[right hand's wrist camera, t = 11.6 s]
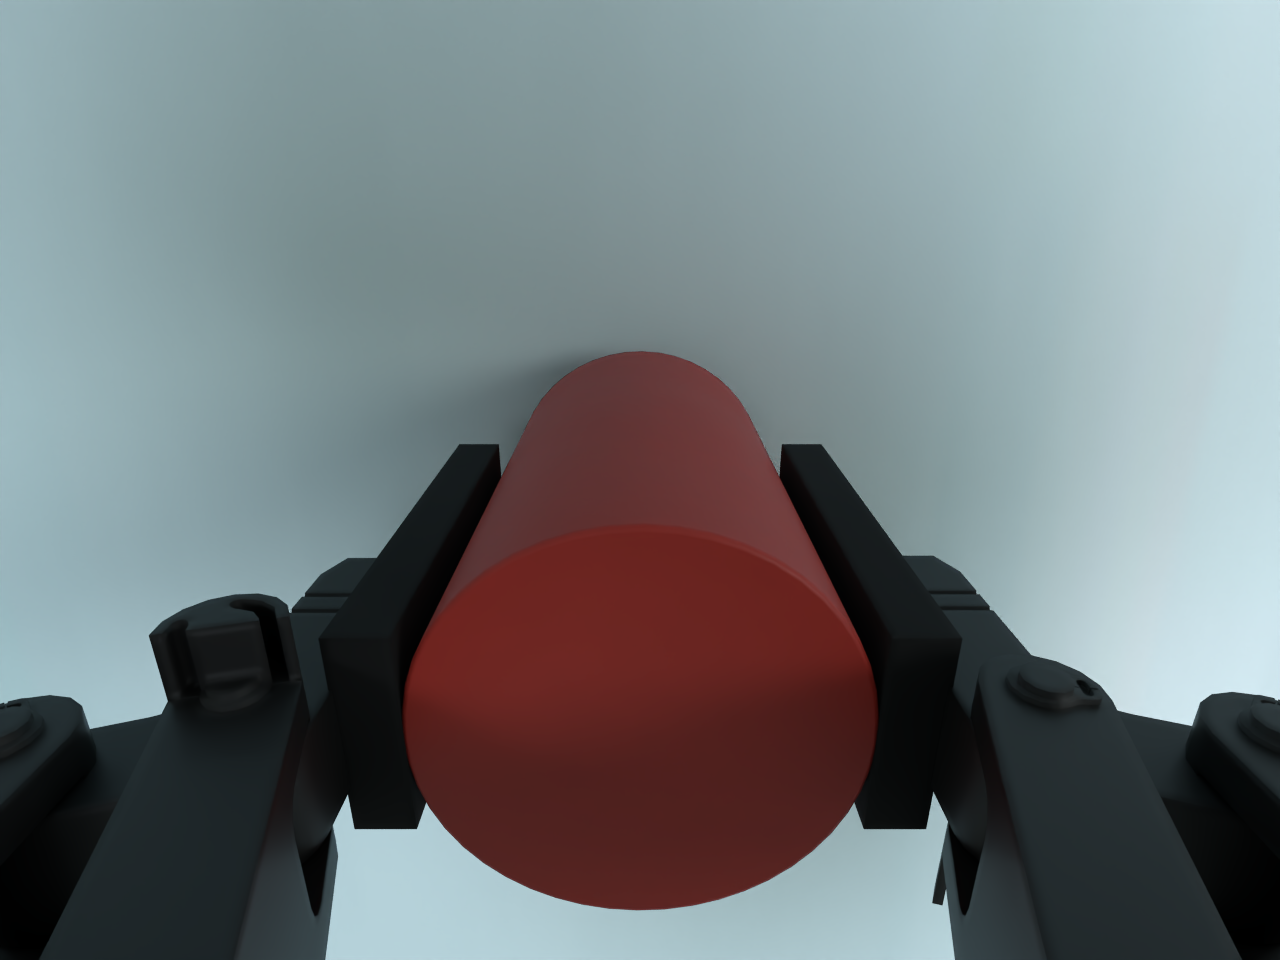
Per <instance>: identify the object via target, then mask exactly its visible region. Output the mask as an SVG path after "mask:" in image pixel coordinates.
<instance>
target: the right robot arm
mask: <svg viewBox="0 0 1280 960" xmlns="http://www.w3.org/2000/svg"><path fill="white" fill-rule="evenodd" d="M500 479H501V468H500V454H499V444H459V446H458V447H457V448H456V450H455V451H454V452H453V454H452V455H451V457H450V458H449V459H448V461H447V462H446V463H445V465H444V466H443V468H442V469H441V470H440V472H439V473H438V474H437V476H436V477H435V479H434V480H433V481H432V483H431V484H430V485H429V487H428V488H427V490H426V491H425V492H424V494H423V495H422V496H421V498H420V499H419V501H418V502H417V503H416V505H415V506H414V507H413V509H412V510H411V512H410V513H409V514H408V516H407V517H406V518H405V520H404V521H403V523H402V524H401V525H400V527H399V528H398V529H397V531H396V532H395V534H394V535H393V536H392V538H391V539H390V540H389V542H388V543H387V545H386V546H385V547H384V549H383V550H382V551H381V553H380V554H379V556H378V557H377V558H347V559H346V560H344V561H342V562H341V563H339V564H337V565H336V566H334V567H332V568H331V569H329V570H327V571H326V572H324V573H322V574H321V575H320V576H319V577H318V578H317V580H316V581H315V582H314V583H313V584H312V586H311V587H310V588H309V589H308V590H307V591H306V593H305V597H301V599H300V600H299V601H298V602H297V603H296V604H295V606H294V607H293V608H292V613H289V610H288V605H287V604H285V603H284V602H283V601H281V600H280V599H278V598H277V597H273V596H268V595H263V594H236V595H230V596H225V597H221V598H216V599H211V600H207V601H204V602H202V603H199V604H196V605H194V606H191V607H188V608H186V609H183V610H181V611H180V612H178V613H176V614H174V615H173V616H171V617H169V618H168V619H166V620H164V621H162V622H161V623H160V624H159V625H158V626H157V627H156V628H155V630H154V631H153V632H152V633H151V634H150V635H149V638H150V641H151V645H152V648H153V652H154V655H155V658H156V662H157V665H158V669H159V672H160V676H161V679H162V682H163V686H164V689H165V693H166V696H167V700H168V702H167V704H166V706H165V708H164V710H163V712H162V714H161V715H157V716H153V717H149V718H144V719H139V720H134V721H129V722H124V723H119V724H114V725H109V726H104V727H99V728H93V729H90V728H89V725H88V722H87V719H86V716H85V714H84V711H83V708H82V706H81V705H80V704H79V703H77V702H76V701H74V700H73V699H72V698H69V697H61V696H52V695H47V696H40V697H32V698H22V699H17V700H13V701H8V703H6V704H4V703H2V704H0V960H325V957H326V949H327V941H328V933H329V925H330V917H331V909H332V901H333V893H334V885H335V877H336V869H337V860H338V852H337V846H336V839H335V834H334V830H333V823H334V821H335V819H336V817H337V815H338V813H339V811H340V809H341V807H342V805H343V803H344V801H345V799H346V797H347V795H348V797H349V802H350V807H351V813H352V818H353V823H354V828H355V829H417V827H418V824H419V821H420V819H421V816H422V813H423V810H424V807H425V804H426V801H425V799H424V797H423V795H422V793H421V792H420V790H419V788H418V786H417V784H416V781H415V778H414V776H413V773H412V771H411V768H410V765H409V762H408V758H407V752H406V746H405V739H404V732H403V721H402V703H403V695H404V686H405V682H406V678H407V675H408V671H409V668H410V664H411V661H412V658H413V656H414V654H415V652H416V650H417V647H418V645H419V643H420V641H421V639H422V637H423V635H424V633H425V631H426V629H427V627H428V625H429V623H430V621H431V619H432V617H433V615H434V612H435V610H436V608H437V606H438V604H439V602H440V600H441V598H442V596H443V594H444V592H445V590H446V588H447V586H448V584H449V582H450V580H451V578H452V576H453V574H454V572H455V570H456V568H457V566H458V564H459V562H460V560H461V558H462V556H463V554H464V552H465V550H466V548H467V546H468V544H469V542H470V540H471V538H472V536H473V534H474V531H475V529H476V527H477V525H478V523H479V521H480V519H481V517H482V515H483V513H484V511H485V509H486V507H487V505H488V503H489V501H490V499H491V497H492V495H493V493H494V491H495V489H496V487H497V485H498V483H499V481H500ZM780 479H781V482H782V484H783V486H784V488H785V490H786V492H787V494H788V496H789V498H790V500H791V502H792V504H793V506H794V508H795V510H796V512H797V514H798V516H799V518H800V520H801V522H802V524H803V526H804V528H805V530H806V532H807V534H808V536H809V538H810V540H811V542H812V544H813V546H814V548H815V550H816V552H817V554H818V556H819V558H820V560H821V562H822V564H823V566H824V568H825V570H826V572H827V574H828V576H829V578H830V580H831V582H832V584H833V586H834V588H835V590H836V592H837V594H838V596H839V598H840V600H841V602H842V604H843V606H844V608H845V610H846V612H847V614H848V616H849V618H850V620H851V622H852V625H853V627H854V629H855V631H856V633H857V635H858V637H859V639H860V641H861V643H862V645H863V648H864V650H865V652H866V655H867V657H868V659H869V662H870V664H871V667H872V672H873V676H874V680H875V684H876V688H877V695H878V708H879V721H878V730H877V737H876V745H875V751H874V756H873V760H872V764H871V768H870V771H869V773H868V775H867V778H866V780H865V782H864V785H863V787H862V790H861V792H860V793H859V795H858V797H857V798H856V800H855V805H856V808H857V811H858V814H859V817H860V819H861V822H862V825H863V828H864V829H926V827H927V822H928V817H929V811H930V806H931V801H932V796H933V792H934V794H935V796H936V798H937V800H938V802H939V804H940V806H941V808H942V810H943V812H944V814H945V816H946V818H947V820H948V825H947V830H946V834H945V839H944V844H943V849H942V854H941V859H940V864H939V868H938V873H937V878H936V883H935V888H934V895H933V902H932V903H934V904H939V905H943V900H944V895H945V891H947V899H948V907H949V915H950V923H951V931H952V939H953V947H954V955H955V960H1280V700H1279V699H1278V701H1277V700H1275V699H1274V698H1271V697H1266V696H1262V695H1252V694H1244V693H1236V692H1228V693H1219V694H1212V695H1210V696H1209V697H1207V698H1206V699H1205V700H1203V701H1202V702H1200V705H1199V708H1198V711H1197V714H1196V716H1195V719H1194V722H1193V725H1192V726H1189V725H1184V724H1179V723H1173V722H1168V721H1163V720H1158V719H1153V718H1148V717H1143V716H1138V715H1133V714H1129V713H1125V712H1121V711H1117V709H1116V707H1115V705H1114V703H1113V701H1112V700H1111V698H1110V697H1109V696H1108V695H1107V693H1106V692H1105V691H1104V690H1103V688H1102V687H1101V686H1100V685H1099V684H1097V683H1096V682H1094V681H1093V680H1091V679H1090V678H1089V677H1087V676H1086V675H1084V674H1083V673H1081V672H1080V671H1077V670H1075V669H1073V668H1070V667H1068V666H1066V665H1063V664H1061V663H1059V662H1056V661H1053V660H1049V659H1044V658H1040V657H1036V656H1032V655H1031V654H1030V653H1029V652H1028V651H1027V650H1026V649H1025V647H1024V646H1023V645H1022V644H1021V643H1020V642H1019V640H1018V639H1017V638H1016V637H1015V636H1014V634H1013V633H1012V632H1011V631H1010V630H1009V629H1008V627H1007V626H1006V625H1005V624H1004V623H1003V622H1002V620H1001V619H1000V618H999V617H998V616H997V614H996V613H995V612H994V611H993V610H990V606H989V605H988V604H987V603H986V602H985V600H984V599H983V598H982V597H981V596H980V594H976V590H975V589H974V587H973V586H972V585H971V584H970V583H969V582H968V580H967V579H966V578H965V577H964V576H963V574H962V573H961V572H960V571H958V570H956V569H955V568H953V567H951V566H950V565H948V564H946V563H945V562H943V561H941V560H939V559H938V558H936V557H934V556H902V555H901V553H900V552H899V550H898V549H897V548H896V546H895V545H894V544H893V542H892V541H891V539H890V538H889V537H888V535H887V534H886V533H885V531H884V530H883V528H882V527H881V526H880V524H879V523H878V522H877V520H876V519H875V517H874V516H873V515H872V513H871V512H870V511H869V509H868V508H867V506H866V505H865V504H864V502H863V501H862V500H861V498H860V497H859V495H858V494H857V493H856V491H855V490H854V489H853V487H852V486H851V484H850V483H849V482H848V480H847V479H846V478H845V476H844V475H843V473H842V472H841V471H840V469H839V468H838V467H837V465H836V464H835V462H834V461H833V460H832V458H831V457H830V456H829V454H828V453H827V451H826V450H825V449H824V447H823V446H822V445H821V444H782V451H781V464H780Z"/></svg>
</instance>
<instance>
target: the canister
mask: <svg viewBox="0 0 1280 960" xmlns="http://www.w3.org/2000/svg"><path fill="white" fill-rule="evenodd" d="M402 721H403V732H404V739H405V746H406V752H407V758H408V762H409V765H410V768H411V771H412V773H413V776H414V778H415V781H416V784H417V786H418V788H419V790H420V792H421V793H422V795H423V797H424V799H425V801H426V802H427V804H428V806H429V808H430V809H431V811H432V812H433V813H434V814H435V816H436V817H437V818H438V820H439V821H440V822H441V824H442V825H443V826H444V828H445V829H446V830H447V831H448V832H449V833H450V834H451V835H452V836H453V837H454V838H455V839H456V840H457V841H458V842H459V843H460V844H461V845H462V846H463V847H464V848H465V849H467V850H468V851H469V852H470V853H472V854H473V855H474V856H475V857H477V858H478V859H479V860H480V861H482V862H483V863H484V864H486V865H488V866H489V867H491V868H492V869H494V870H496V871H497V872H499V873H501V874H502V875H504V876H505V877H507V878H509V879H511V880H513V881H515V882H518V883H520V884H522V885H524V886H526V887H528V888H530V889H533V890H535V891H538V892H541V893H544V894H547V895H549V896H552V897H555V898H558V899H562V900H566V901H570V902H574V903H578V904H582V905H589V906H595V907H602V908H608V909H624V910H659V909H671V908H678V907H686V906H693V905H697V904H702V903H706V902H711V901H715V900H719V899H722V898H725V897H728V896H731V895H734V894H737V893H740V892H743V891H746V890H748V889H750V888H752V887H754V886H757V885H759V884H761V883H763V882H766V881H768V880H770V879H771V878H773V877H775V876H777V875H778V874H780V873H782V872H783V871H785V870H787V869H788V868H790V867H792V866H793V865H795V864H796V863H797V862H799V861H800V860H801V859H803V858H804V857H805V856H807V855H808V854H809V853H811V852H812V851H813V850H814V849H815V848H816V847H817V846H818V845H819V844H820V843H822V842H823V841H824V840H825V839H826V838H827V837H828V836H829V835H830V834H831V833H832V832H833V831H834V829H835V828H836V827H837V826H838V824H839V823H840V822H841V821H842V819H843V818H844V817H845V816H846V814H847V813H848V812H849V810H850V808H851V807H852V805H853V803H854V802H855V800H856V798H857V797H858V795H859V793H860V792H861V790H862V787H863V785H864V782H865V780H866V778H867V775H868V773H869V771H870V768H871V764H872V760H873V756H874V751H875V745H876V737H877V730H878V721H879V708H878V695H877V688H876V684H875V680H874V676H873V672H872V667H871V664H870V662H869V659H868V657H867V655H866V652H865V650H864V648H863V645H862V643H861V641H860V639H859V637H858V635H857V633H856V631H855V629H854V627H853V625H852V622H851V620H850V618H849V616H848V614H847V612H846V610H845V608H844V606H843V604H842V602H841V600H840V598H839V596H838V594H837V592H836V590H835V588H834V586H833V584H832V582H831V580H830V578H829V576H828V574H827V572H826V570H825V568H824V566H823V564H822V562H821V560H820V558H819V556H818V554H817V552H816V550H815V548H814V546H813V544H812V542H811V540H810V538H809V536H808V534H807V532H806V530H805V528H804V526H803V524H802V522H801V520H800V518H799V516H798V514H797V512H796V510H795V508H794V506H793V504H792V502H791V500H790V498H789V496H788V494H787V492H786V490H785V488H784V486H783V484H782V482H781V479H780V477H779V475H778V473H777V471H776V469H775V467H774V465H773V463H772V461H771V459H770V457H769V455H768V453H767V451H766V449H765V447H764V445H763V443H762V441H761V439H760V437H759V435H758V433H757V431H756V429H755V427H754V425H753V423H752V421H751V419H750V417H749V415H748V413H747V412H746V410H745V408H744V407H743V405H742V404H741V402H740V401H739V399H738V398H737V397H736V396H735V395H734V393H733V392H732V391H731V390H730V389H729V388H728V387H727V386H726V385H725V384H724V383H723V382H722V381H721V380H720V379H718V378H717V377H716V376H714V375H713V374H711V373H710V372H708V371H707V370H706V369H704V368H702V367H700V366H698V365H696V364H694V363H692V362H690V361H687V360H684V359H682V358H679V357H676V356H672V355H667V354H662V353H656V352H644V351H639V352H624V353H618V354H613V355H608V356H605V357H602V358H599V359H596V360H593V361H591V362H589V363H586V364H584V365H582V366H580V367H578V368H577V369H575V370H574V371H572V372H570V373H569V374H567V375H566V376H564V377H563V378H562V379H561V380H560V381H559V382H558V383H556V384H555V385H554V386H553V387H552V388H551V389H550V390H549V391H548V393H547V394H546V395H545V396H544V397H543V398H542V400H541V401H540V403H539V404H538V406H537V407H536V409H535V410H534V412H533V414H532V416H531V418H530V420H529V422H528V424H527V426H526V428H525V430H524V432H523V434H522V436H521V438H520V440H519V442H518V444H517V446H516V448H515V450H514V452H513V455H512V457H511V459H510V461H509V463H508V465H507V467H506V469H505V471H504V473H503V475H502V477H501V479H500V481H499V483H498V485H497V487H496V489H495V491H494V493H493V495H492V497H491V499H490V501H489V503H488V505H487V507H486V509H485V511H484V513H483V515H482V517H481V519H480V521H479V523H478V525H477V527H476V529H475V531H474V534H473V536H472V538H471V540H470V542H469V544H468V546H467V548H466V550H465V552H464V554H463V556H462V558H461V560H460V562H459V564H458V566H457V568H456V570H455V572H454V574H453V576H452V578H451V580H450V582H449V584H448V586H447V588H446V590H445V592H444V594H443V596H442V598H441V600H440V602H439V604H438V606H437V608H436V610H435V612H434V615H433V617H432V619H431V621H430V623H429V625H428V627H427V629H426V631H425V633H424V635H423V637H422V639H421V641H420V643H419V645H418V647H417V650H416V652H415V654H414V656H413V658H412V661H411V664H410V668H409V671H408V675H407V678H406V682H405V686H404V695H403V703H402Z"/></svg>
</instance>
